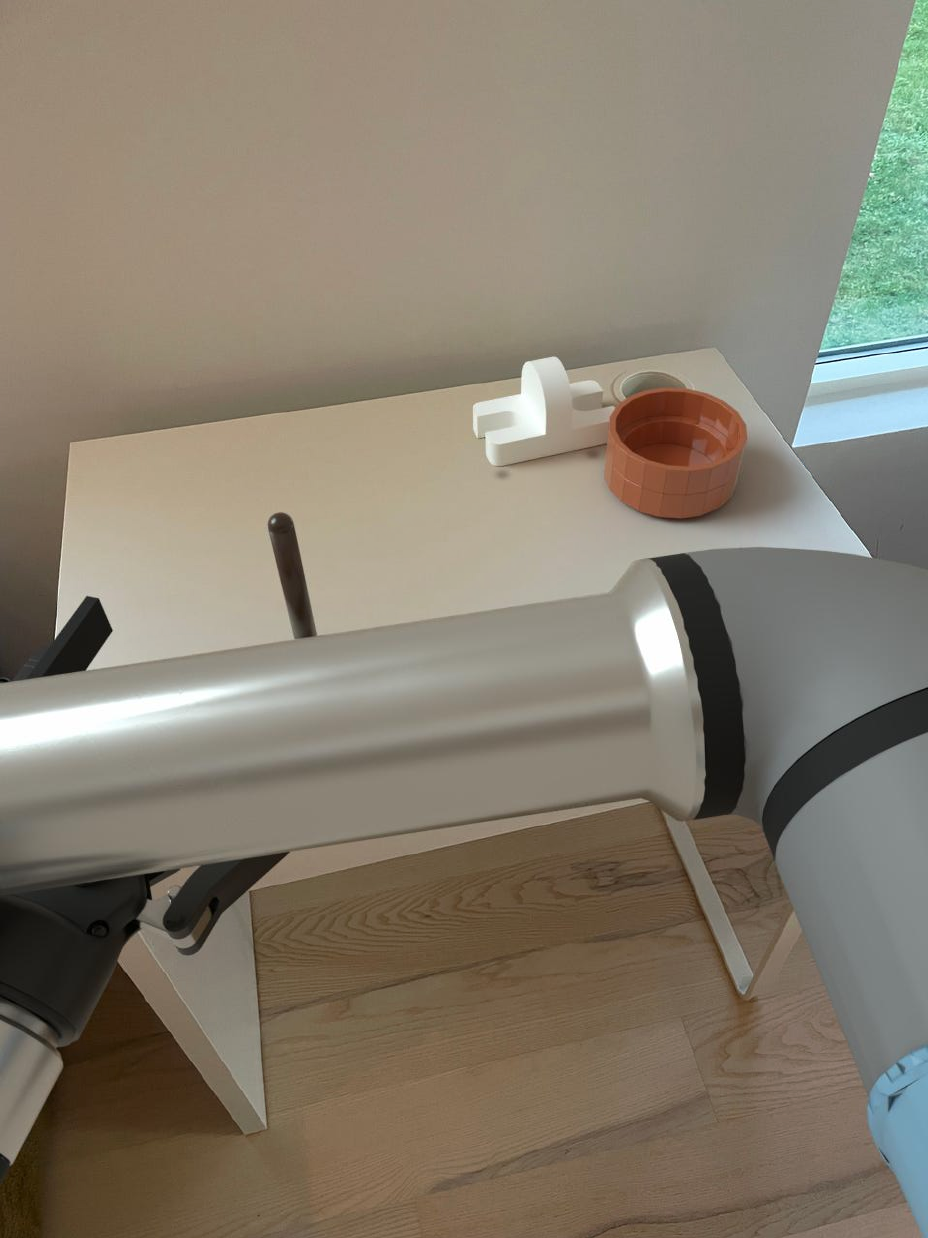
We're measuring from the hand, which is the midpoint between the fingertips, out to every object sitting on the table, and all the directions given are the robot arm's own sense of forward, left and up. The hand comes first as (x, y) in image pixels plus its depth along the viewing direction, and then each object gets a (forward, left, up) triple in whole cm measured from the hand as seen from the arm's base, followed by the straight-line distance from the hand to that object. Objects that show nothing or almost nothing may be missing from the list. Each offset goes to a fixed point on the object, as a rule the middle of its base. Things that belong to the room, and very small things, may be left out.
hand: (211, 635), depth 53 cm
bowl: (-14, -46, -19) cm, 51 cm away
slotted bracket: (-1, -48, -19) cm, 51 cm away
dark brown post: (+2, -10, -19) cm, 21 cm away
